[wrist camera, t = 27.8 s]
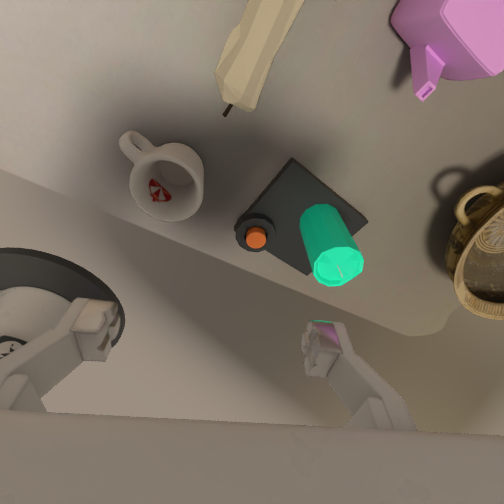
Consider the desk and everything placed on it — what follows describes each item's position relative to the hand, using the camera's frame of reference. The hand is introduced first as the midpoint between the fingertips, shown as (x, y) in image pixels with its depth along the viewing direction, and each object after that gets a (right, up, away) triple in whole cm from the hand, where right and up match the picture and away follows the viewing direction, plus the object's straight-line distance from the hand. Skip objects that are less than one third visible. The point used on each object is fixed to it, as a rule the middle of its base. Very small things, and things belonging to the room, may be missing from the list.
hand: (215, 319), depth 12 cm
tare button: (+2, +5, +29) cm, 30 cm away
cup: (-9, +15, +25) cm, 31 cm away
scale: (+9, +8, +31) cm, 33 cm away
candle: (+11, +7, +29) cm, 33 cm away
